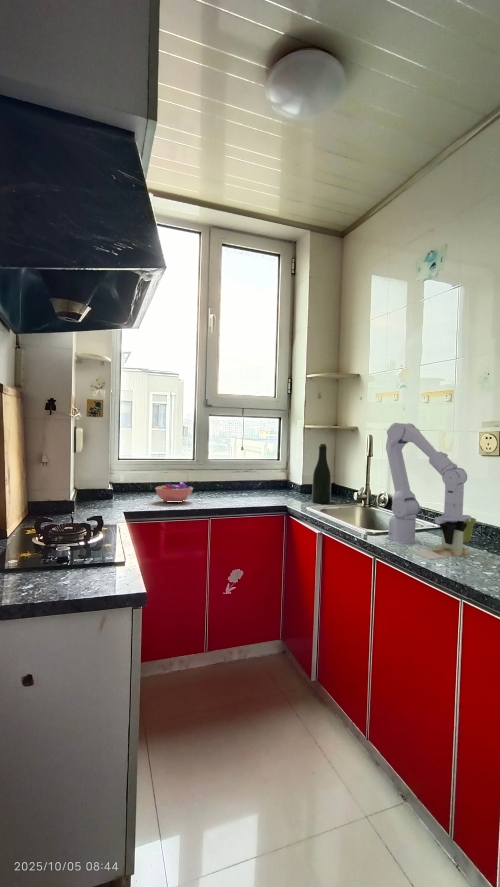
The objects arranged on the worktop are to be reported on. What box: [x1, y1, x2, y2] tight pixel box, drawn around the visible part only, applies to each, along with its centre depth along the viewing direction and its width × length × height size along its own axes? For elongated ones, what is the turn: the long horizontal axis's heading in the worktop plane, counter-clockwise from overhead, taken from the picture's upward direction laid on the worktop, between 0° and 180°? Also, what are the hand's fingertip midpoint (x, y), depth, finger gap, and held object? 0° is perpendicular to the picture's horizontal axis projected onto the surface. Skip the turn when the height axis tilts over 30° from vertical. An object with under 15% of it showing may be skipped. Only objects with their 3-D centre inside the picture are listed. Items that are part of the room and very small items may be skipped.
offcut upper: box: [432, 547, 452, 557], centre depth 143 cm, size 5×3×1 cm, turn 21°
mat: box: [408, 548, 447, 561], centre depth 141 cm, size 9×7×1 cm
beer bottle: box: [311, 443, 332, 505], centre depth 238 cm, size 10×10×33 cm
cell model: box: [154, 481, 194, 502], centre depth 227 cm, size 17×20×11 cm
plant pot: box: [463, 516, 477, 543], centre depth 161 cm, size 9×9×9 cm
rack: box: [435, 544, 469, 557], centre depth 145 cm, size 9×5×2 cm, turn 22°
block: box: [440, 530, 464, 556], centre depth 145 cm, size 7×2×8 cm, turn 22°
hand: (452, 543), depth 145 cm, fingers open, 3 cm apart
